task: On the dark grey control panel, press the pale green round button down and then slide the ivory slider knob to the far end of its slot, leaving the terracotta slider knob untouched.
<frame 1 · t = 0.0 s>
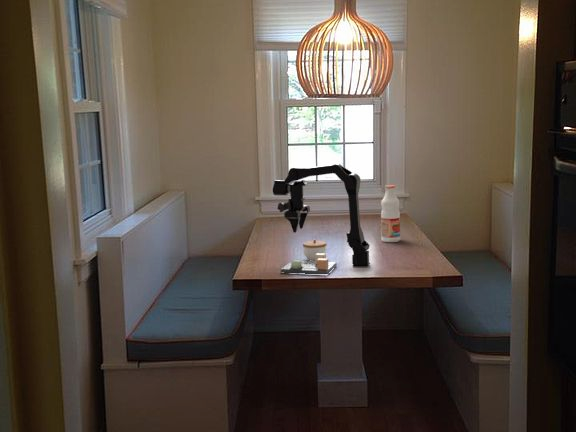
hand: (298, 230, 303), 15 cm above the table, tool pointing down, fingers open, 9 cm apart
lidded jar: (315, 260, 310), on the table
fruit juice: (390, 241, 345), on the table
slider b: (322, 263, 283), point 4 cm above the table, slide at 0.0 cm
slider a: (320, 258, 293), point 4 cm above the table, slide at 0.0 cm
panel: (309, 270, 291), on the table
button c: (296, 264, 287), point 3 cm above the table, slide at 0.0 cm
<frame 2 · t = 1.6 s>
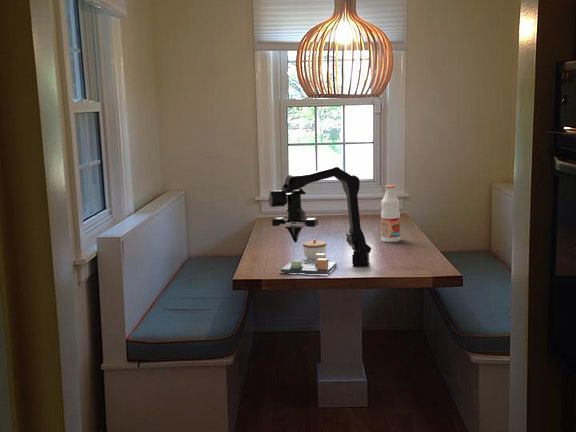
hand: (295, 242, 286), 13 cm above the table, tool pointing down, fingers closed
nothing on the table moved.
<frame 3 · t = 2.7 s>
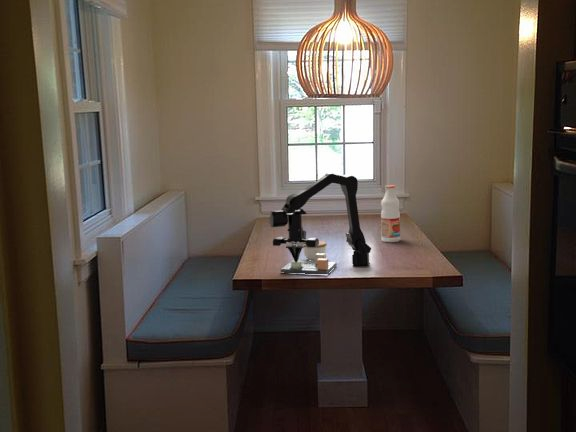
hand: (296, 261, 287), 5 cm above the table, tool pointing down, fingers closed, pressing on button c
button c: (296, 265, 287), point 3 cm above the table, slide at 0.4 cm, touching gripper
everything else where it was.
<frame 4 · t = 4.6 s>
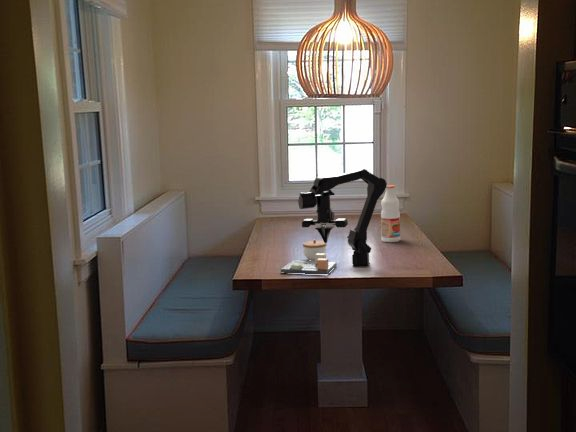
hand: (325, 242, 289), 12 cm above the table, tool pointing down, fingers closed
button c: (296, 268, 287), point 2 cm above the table, slide at 1.6 cm
everything else where it was.
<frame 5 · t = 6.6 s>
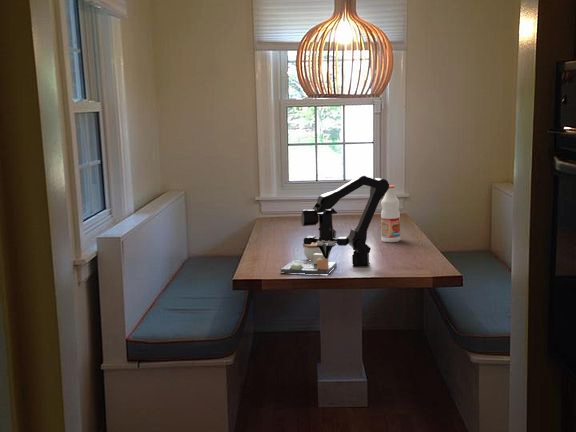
hand: (326, 260, 292), 4 cm above the table, tool pointing down, fingers closed
slider a: (318, 258, 293), point 4 cm above the table, slide at 0.9 cm, touching gripper
everything else where it was.
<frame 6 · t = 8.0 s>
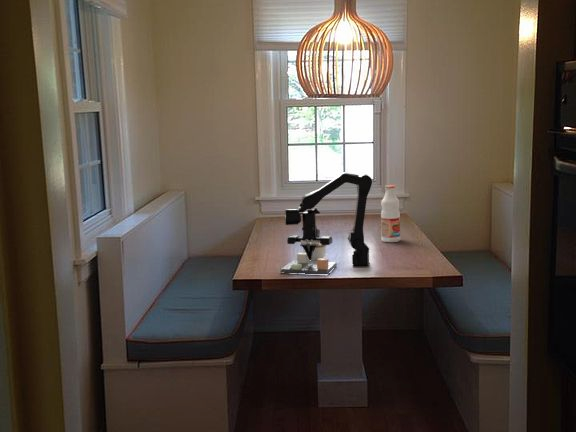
hand: (310, 259, 294), 4 cm above the table, tool pointing down, fingers closed
slider a: (302, 258, 295), point 4 cm above the table, slide at 8.1 cm, touching gripper
everything else where it was.
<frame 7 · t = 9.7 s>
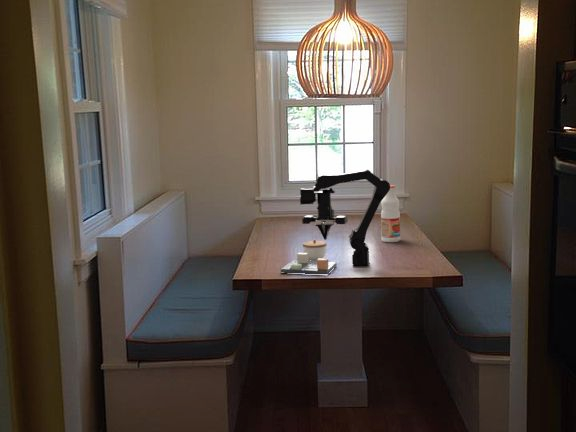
hand: (325, 239, 294), 12 cm above the table, tool pointing down, fingers closed
slider a: (302, 258, 295), point 4 cm above the table, slide at 8.1 cm
everything else where it was.
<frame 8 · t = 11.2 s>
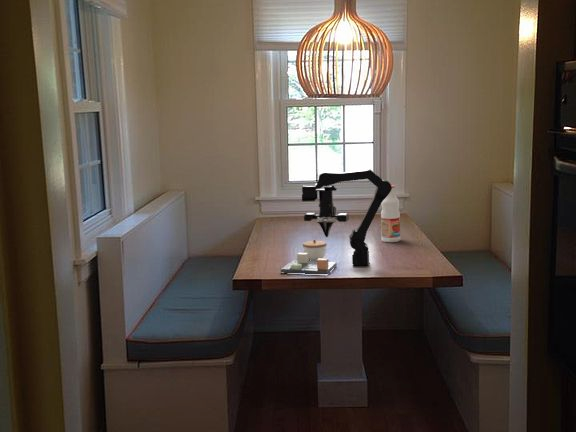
hand: (326, 236, 294), 13 cm above the table, tool pointing down, fingers closed
nothing on the table moved.
at the end: slider a slide at 8.1 cm; button c slide at 1.6 cm; slider b slide at 0.0 cm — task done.
